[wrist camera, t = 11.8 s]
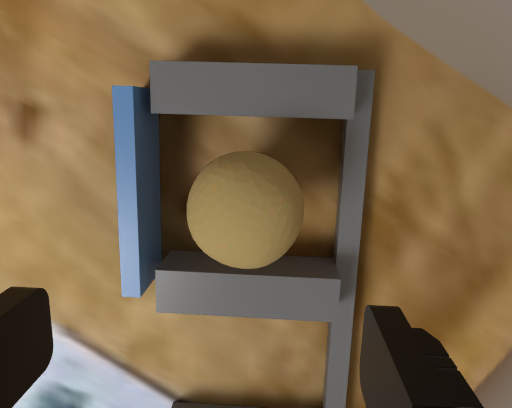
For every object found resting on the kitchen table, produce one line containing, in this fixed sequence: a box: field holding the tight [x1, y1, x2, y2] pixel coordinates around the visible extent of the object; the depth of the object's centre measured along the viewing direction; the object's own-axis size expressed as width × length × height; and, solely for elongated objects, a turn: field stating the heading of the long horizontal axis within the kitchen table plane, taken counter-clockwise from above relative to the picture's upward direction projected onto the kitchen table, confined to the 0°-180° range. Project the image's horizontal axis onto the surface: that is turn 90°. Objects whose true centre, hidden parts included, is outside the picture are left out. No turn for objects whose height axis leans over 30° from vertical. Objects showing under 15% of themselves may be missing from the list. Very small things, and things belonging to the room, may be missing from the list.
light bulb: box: [187, 151, 304, 269], centre depth 25 cm, size 6×6×10 cm
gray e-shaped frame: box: [112, 61, 375, 408], centre depth 29 cm, size 29×15×5 cm, turn 178°
